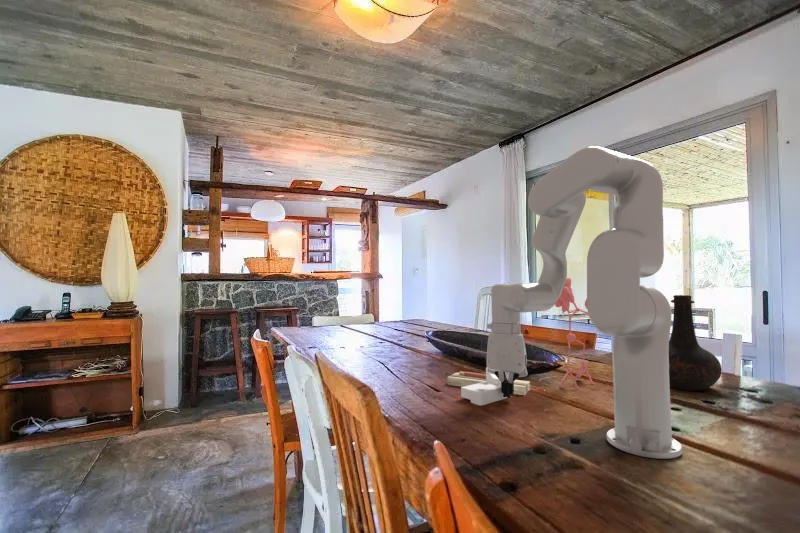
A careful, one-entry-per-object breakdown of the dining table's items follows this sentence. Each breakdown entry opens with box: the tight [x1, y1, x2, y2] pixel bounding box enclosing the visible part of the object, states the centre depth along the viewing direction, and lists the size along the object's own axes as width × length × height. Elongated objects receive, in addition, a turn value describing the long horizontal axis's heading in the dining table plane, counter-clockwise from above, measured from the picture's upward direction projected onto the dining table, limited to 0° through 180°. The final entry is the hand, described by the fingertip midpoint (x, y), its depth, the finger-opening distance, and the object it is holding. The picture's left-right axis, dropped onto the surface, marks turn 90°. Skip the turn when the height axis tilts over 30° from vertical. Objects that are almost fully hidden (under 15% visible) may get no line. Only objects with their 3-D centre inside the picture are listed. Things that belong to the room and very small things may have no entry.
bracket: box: [460, 367, 513, 406], centre depth 107 cm, size 13×7×8 cm, turn 126°
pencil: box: [458, 371, 486, 379], centre depth 121 cm, size 14×1×1 cm, turn 54°
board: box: [447, 372, 531, 396], centre depth 118 cm, size 7×24×2 cm, turn 59°
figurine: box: [537, 277, 606, 390], centre depth 123 cm, size 15×26×35 cm, turn 127°
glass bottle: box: [669, 294, 723, 392], centre depth 117 cm, size 18×18×28 cm
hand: (507, 396), depth 104 cm, fingers closed
